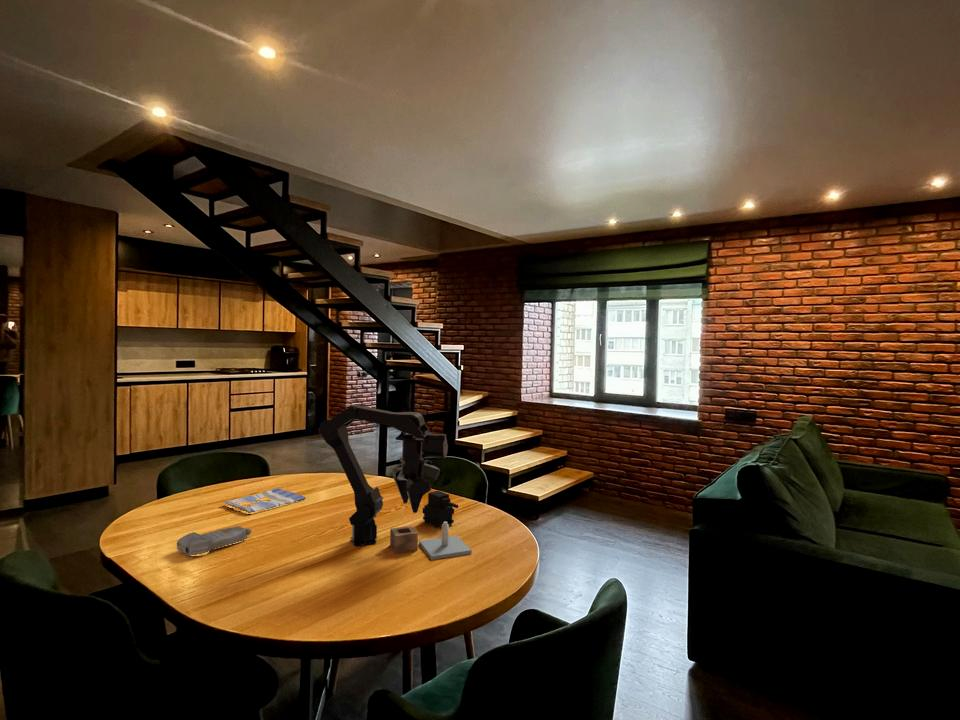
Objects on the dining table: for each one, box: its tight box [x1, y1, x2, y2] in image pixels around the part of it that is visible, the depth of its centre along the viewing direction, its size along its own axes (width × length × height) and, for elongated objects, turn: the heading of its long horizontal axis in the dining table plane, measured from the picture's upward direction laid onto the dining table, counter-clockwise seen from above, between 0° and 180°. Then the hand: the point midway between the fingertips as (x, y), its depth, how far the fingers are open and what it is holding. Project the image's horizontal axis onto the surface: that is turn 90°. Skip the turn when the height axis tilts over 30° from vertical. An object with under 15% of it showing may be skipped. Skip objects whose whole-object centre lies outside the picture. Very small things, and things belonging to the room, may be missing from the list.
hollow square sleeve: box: [389, 525, 419, 554], centre depth 149 cm, size 6×6×5 cm
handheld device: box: [176, 525, 252, 557], centre depth 149 cm, size 10×20×5 cm, turn 144°
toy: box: [422, 490, 459, 529], centre depth 169 cm, size 8×14×10 cm, turn 44°
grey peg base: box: [418, 522, 473, 561], centre depth 149 cm, size 12×12×8 cm
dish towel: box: [223, 487, 306, 513], centre depth 189 cm, size 17×24×3 cm
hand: (410, 507), depth 151 cm, fingers open, 9 cm apart
